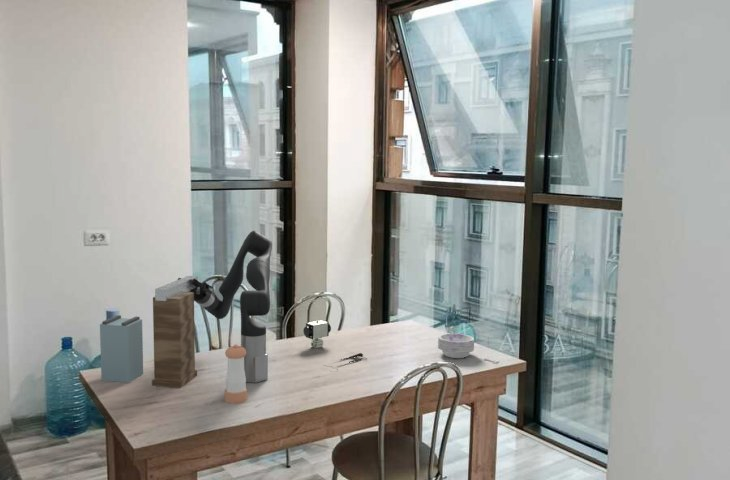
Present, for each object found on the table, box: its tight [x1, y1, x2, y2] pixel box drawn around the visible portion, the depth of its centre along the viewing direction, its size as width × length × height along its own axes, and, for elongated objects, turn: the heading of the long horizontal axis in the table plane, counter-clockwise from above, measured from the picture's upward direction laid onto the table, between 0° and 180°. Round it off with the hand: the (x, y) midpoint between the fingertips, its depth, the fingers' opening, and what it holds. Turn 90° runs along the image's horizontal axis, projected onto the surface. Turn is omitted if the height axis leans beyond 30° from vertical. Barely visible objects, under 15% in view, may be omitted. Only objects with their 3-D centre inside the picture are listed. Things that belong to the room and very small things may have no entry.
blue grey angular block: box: [99, 314, 144, 384], centre depth 244 cm, size 10×11×22 cm
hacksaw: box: [340, 352, 368, 364], centre depth 268 cm, size 24×10×2 cm, turn 133°
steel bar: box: [154, 275, 199, 301], centre depth 242 cm, size 26×4×4 cm, turn 170°
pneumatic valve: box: [302, 319, 332, 349], centre depth 289 cm, size 6×12×12 cm, turn 130°
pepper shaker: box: [224, 344, 248, 404], centre depth 224 cm, size 7×7×19 cm
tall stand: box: [151, 292, 198, 389], centre depth 241 cm, size 14×11×32 cm
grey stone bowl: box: [437, 333, 475, 359], centre depth 281 cm, size 15×15×8 cm
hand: (186, 280), depth 249 cm, fingers open, 5 cm apart
